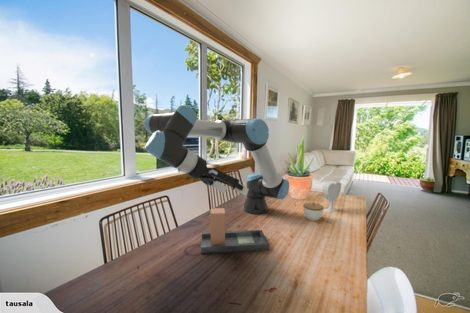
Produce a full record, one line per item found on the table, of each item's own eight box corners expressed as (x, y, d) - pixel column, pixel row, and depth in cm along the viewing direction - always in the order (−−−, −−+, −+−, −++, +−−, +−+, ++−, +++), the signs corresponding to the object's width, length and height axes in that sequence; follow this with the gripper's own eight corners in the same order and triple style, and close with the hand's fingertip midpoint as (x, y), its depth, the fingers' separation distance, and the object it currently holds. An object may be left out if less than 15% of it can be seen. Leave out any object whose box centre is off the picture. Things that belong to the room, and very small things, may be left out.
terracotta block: (210, 245, 90) (210, 213, 88) (210, 238, 96) (210, 208, 94) (225, 245, 91) (225, 213, 89) (224, 238, 97) (224, 208, 95)
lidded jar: (323, 217, 126) (324, 201, 125) (322, 223, 116) (323, 207, 115) (304, 213, 130) (304, 198, 129) (301, 220, 120) (302, 204, 119)
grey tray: (200, 253, 86) (200, 247, 86) (201, 237, 99) (201, 232, 99) (268, 249, 89) (268, 244, 89) (261, 235, 102) (261, 230, 102)
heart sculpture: (327, 213, 132) (329, 184, 130) (320, 210, 136) (321, 182, 134) (340, 208, 141) (342, 181, 139) (333, 206, 145) (335, 179, 143)
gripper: (172, 174, 81) (214, 197, 92) (205, 174, 61) (254, 204, 72) (181, 157, 84) (221, 181, 94) (216, 152, 64) (261, 183, 75)
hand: (235, 191), depth 83 cm, fingers open, 13 cm apart
